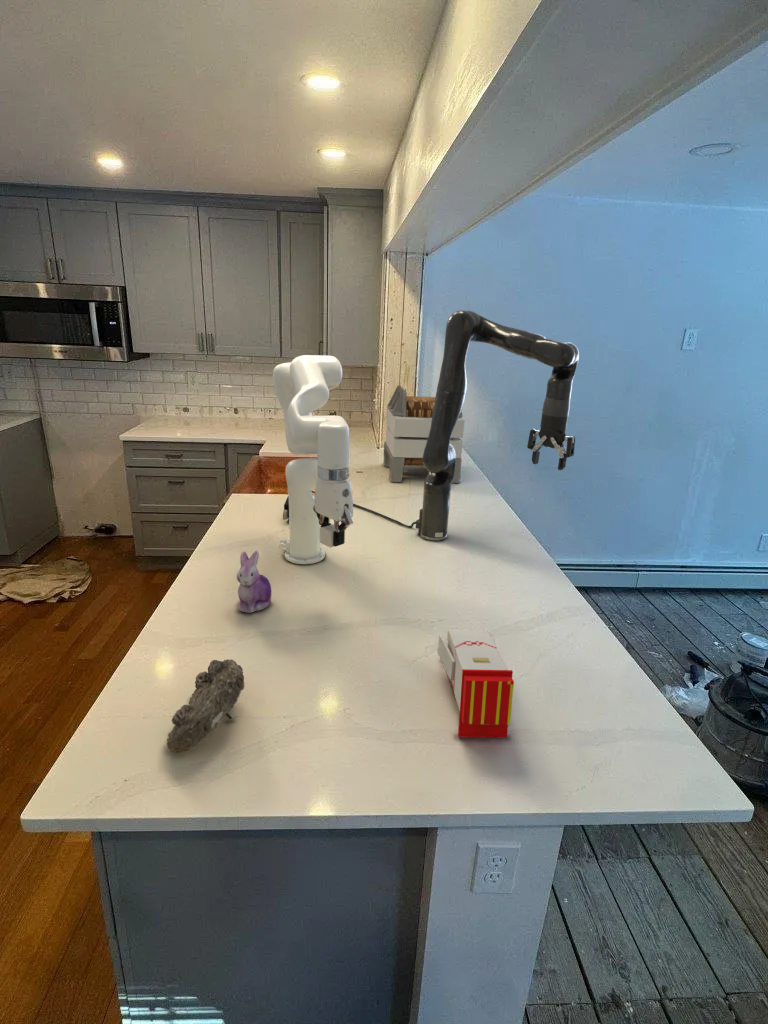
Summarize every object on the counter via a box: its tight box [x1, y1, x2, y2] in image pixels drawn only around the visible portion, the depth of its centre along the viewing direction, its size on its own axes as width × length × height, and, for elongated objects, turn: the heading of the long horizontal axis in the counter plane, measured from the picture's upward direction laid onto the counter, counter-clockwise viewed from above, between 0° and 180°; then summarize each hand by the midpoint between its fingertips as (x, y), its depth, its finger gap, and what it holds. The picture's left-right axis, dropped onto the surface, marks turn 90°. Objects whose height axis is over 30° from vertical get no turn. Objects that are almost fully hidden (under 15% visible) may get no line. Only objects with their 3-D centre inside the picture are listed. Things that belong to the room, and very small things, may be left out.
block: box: [320, 523, 346, 549], centre depth 144 cm, size 4×5×4 cm
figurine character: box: [282, 495, 289, 524], centre depth 208 cm, size 7×8×15 cm
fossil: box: [166, 658, 245, 754], centre depth 106 cm, size 22×10×15 cm
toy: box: [437, 628, 515, 738], centre depth 117 cm, size 12×13×30 cm
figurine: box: [236, 550, 272, 614], centre depth 146 cm, size 9×10×15 cm
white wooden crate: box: [383, 384, 465, 484], centre depth 268 cm, size 34×33×41 cm
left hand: (332, 541), depth 144 cm, fingers closed on block, 4 cm apart
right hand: (547, 466), depth 172 cm, fingers open, 8 cm apart
